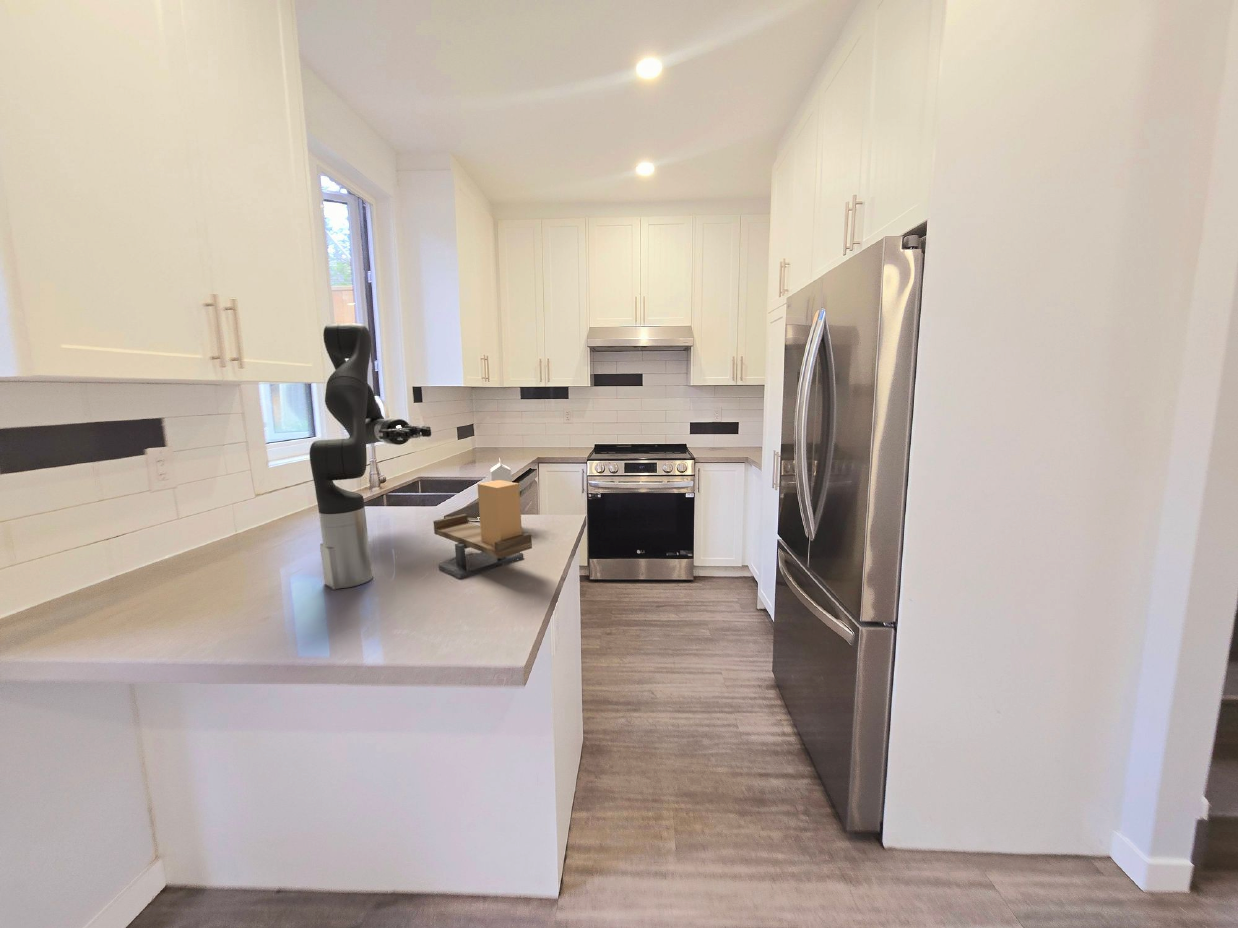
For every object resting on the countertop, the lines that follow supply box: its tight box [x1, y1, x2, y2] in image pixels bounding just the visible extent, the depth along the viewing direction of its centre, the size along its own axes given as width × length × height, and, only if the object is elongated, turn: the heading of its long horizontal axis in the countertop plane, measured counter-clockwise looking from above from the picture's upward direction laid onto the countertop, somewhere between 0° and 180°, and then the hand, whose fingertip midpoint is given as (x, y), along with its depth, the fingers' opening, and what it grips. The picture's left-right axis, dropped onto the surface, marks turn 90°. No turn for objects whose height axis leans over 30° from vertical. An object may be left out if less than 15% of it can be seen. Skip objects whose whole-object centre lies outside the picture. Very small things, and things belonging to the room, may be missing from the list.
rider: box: [476, 480, 523, 546], centre depth 117 cm, size 6×8×14 cm
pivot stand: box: [438, 542, 524, 580], centre depth 125 cm, size 10×18×6 cm, turn 137°
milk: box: [489, 457, 513, 482], centre depth 154 cm, size 6×6×22 cm
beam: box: [432, 514, 533, 559], centre depth 124 cm, size 30×9×4 cm, turn 47°
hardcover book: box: [443, 500, 480, 520], centre depth 177 cm, size 16×23×2 cm
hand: (419, 433), depth 135 cm, fingers open, 5 cm apart
